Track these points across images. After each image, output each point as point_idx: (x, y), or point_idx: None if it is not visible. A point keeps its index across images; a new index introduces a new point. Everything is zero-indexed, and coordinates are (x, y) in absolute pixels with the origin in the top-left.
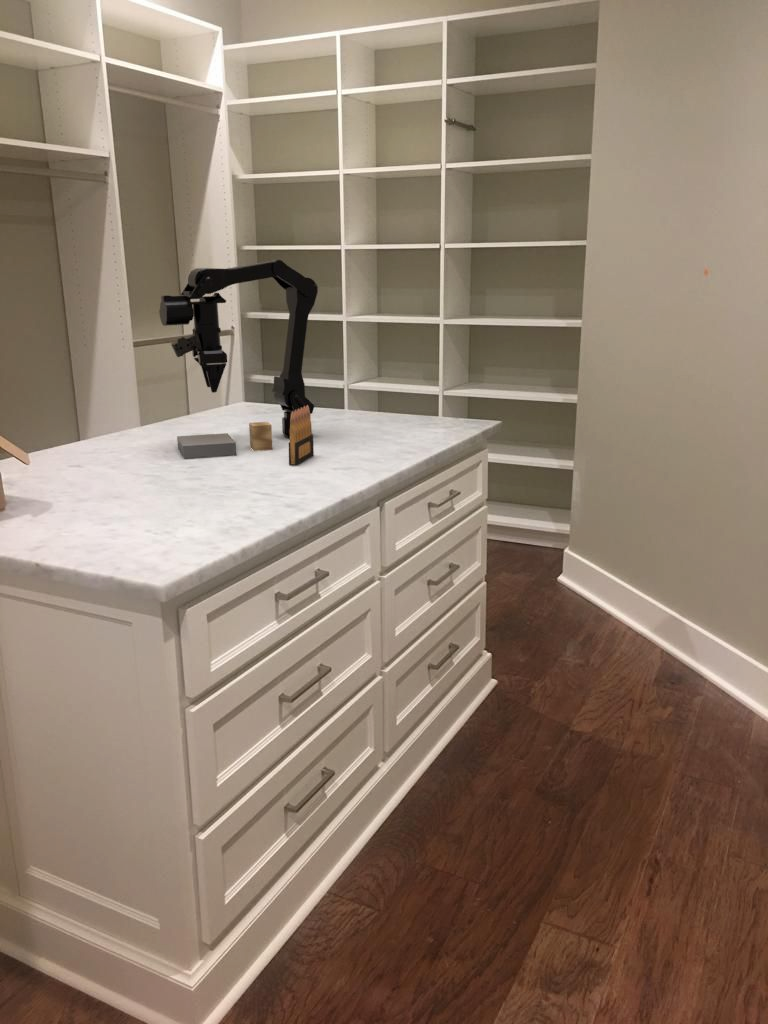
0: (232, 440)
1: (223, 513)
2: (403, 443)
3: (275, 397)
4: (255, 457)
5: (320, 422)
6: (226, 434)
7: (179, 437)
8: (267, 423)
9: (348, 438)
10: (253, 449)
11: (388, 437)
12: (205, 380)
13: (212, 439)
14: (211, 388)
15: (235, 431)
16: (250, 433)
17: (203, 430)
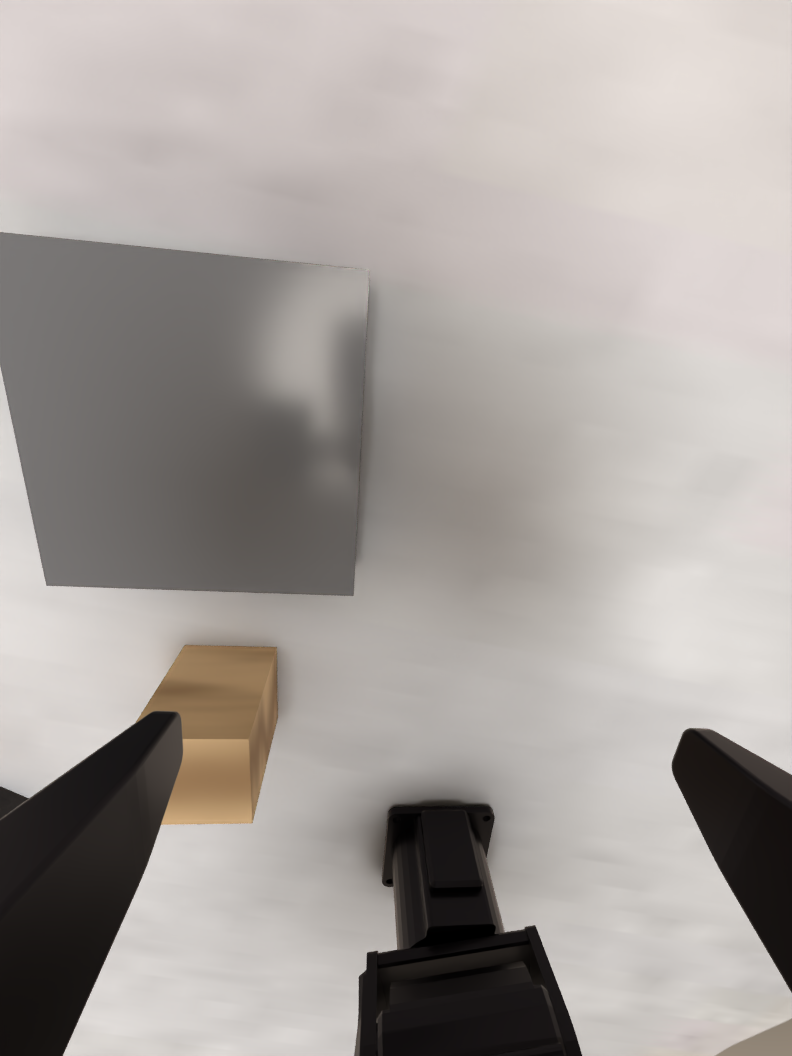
0: (118, 580)
1: None
2: (176, 1049)
3: (528, 1002)
4: (24, 623)
5: (641, 936)
6: (314, 584)
7: (318, 277)
8: (194, 815)
9: (315, 955)
10: (188, 648)
11: (286, 1036)
12: (778, 790)
13: (177, 479)
14: (103, 752)
15: (665, 657)
16: (233, 695)
17: (786, 528)
